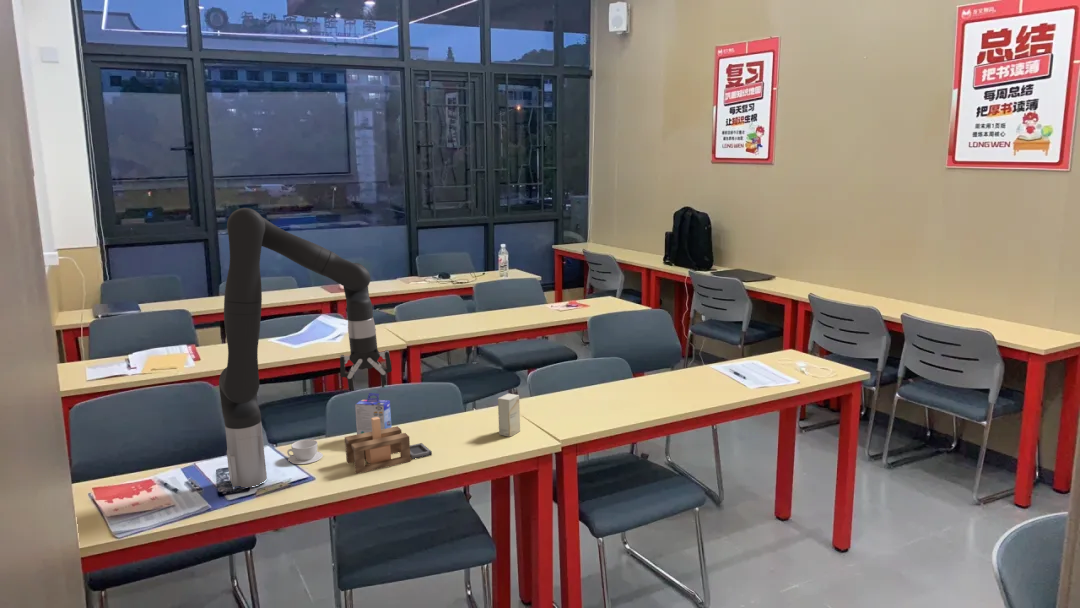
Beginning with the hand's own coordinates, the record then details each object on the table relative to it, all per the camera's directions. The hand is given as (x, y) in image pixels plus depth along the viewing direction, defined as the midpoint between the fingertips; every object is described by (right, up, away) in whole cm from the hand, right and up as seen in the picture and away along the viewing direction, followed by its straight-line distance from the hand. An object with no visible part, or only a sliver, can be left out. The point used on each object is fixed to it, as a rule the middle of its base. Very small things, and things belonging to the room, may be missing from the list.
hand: (368, 388), depth 220 cm
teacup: (-20, -22, +7) cm, 31 cm away
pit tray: (+13, -20, +9) cm, 26 cm away
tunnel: (+2, -22, +3) cm, 22 cm away
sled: (+2, -22, +3) cm, 22 cm away
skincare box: (+40, -17, +24) cm, 49 cm away
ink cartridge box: (-3, -19, +22) cm, 29 cm away
